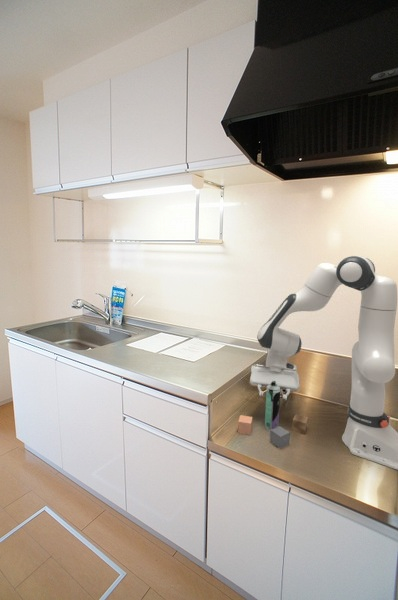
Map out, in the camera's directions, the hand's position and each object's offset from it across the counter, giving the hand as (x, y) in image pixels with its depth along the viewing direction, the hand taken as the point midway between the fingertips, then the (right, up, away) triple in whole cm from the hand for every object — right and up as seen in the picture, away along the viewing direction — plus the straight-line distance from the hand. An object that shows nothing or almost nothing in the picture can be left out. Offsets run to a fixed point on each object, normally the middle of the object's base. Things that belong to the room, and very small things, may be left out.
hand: (272, 397), depth 122 cm
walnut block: (+11, -13, 0) cm, 17 cm away
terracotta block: (-11, -13, -1) cm, 17 cm away
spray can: (0, -13, +2) cm, 13 cm away
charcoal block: (0, -15, -9) cm, 17 cm away
